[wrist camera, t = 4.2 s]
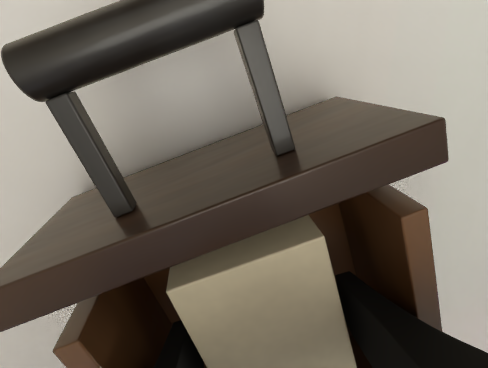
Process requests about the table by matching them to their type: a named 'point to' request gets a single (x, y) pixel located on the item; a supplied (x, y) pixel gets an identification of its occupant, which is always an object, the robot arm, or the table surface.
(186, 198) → the drawer
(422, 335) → the robot arm
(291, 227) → the beige rectangular block
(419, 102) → the table surface
